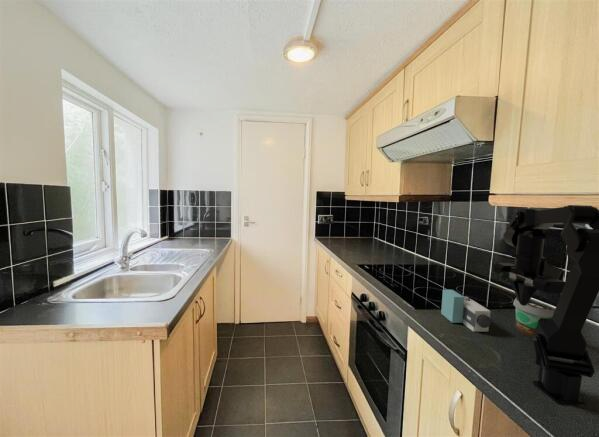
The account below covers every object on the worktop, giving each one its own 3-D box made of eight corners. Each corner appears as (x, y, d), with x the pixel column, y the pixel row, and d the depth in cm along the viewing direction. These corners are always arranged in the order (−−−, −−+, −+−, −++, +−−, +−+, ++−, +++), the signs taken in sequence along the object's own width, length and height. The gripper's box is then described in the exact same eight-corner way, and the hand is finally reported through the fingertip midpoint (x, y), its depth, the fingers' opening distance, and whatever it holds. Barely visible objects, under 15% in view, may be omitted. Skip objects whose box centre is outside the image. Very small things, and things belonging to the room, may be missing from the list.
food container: (502, 326, 93) (505, 297, 92) (513, 323, 95) (516, 295, 94) (544, 345, 82) (548, 313, 81) (557, 341, 84) (561, 310, 83)
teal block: (462, 322, 94) (464, 297, 93) (452, 322, 94) (454, 296, 93) (450, 313, 101) (452, 289, 100) (441, 313, 101) (442, 289, 100)
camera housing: (490, 333, 88) (492, 310, 87) (474, 333, 88) (476, 310, 87) (465, 314, 101) (466, 295, 100) (451, 314, 101) (453, 294, 100)
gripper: (592, 261, 68) (584, 320, 70) (528, 245, 87) (523, 293, 88) (549, 260, 68) (542, 320, 70) (494, 245, 86) (489, 292, 88)
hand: (523, 305), depth 79 cm, fingers closed
